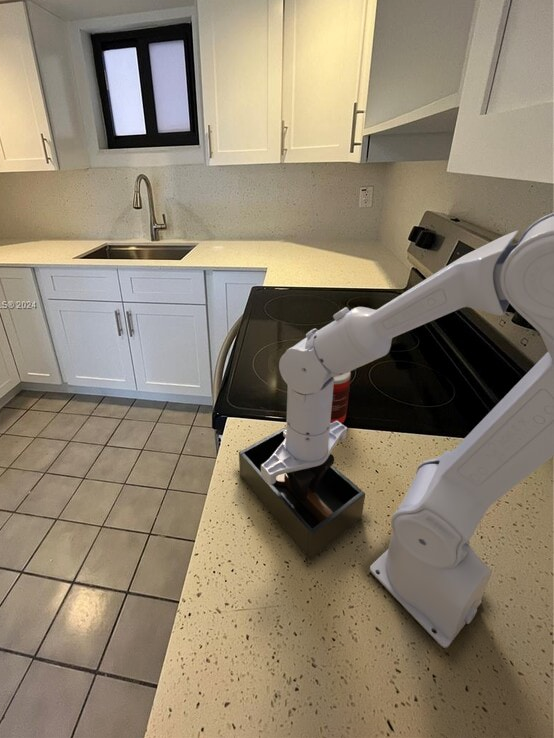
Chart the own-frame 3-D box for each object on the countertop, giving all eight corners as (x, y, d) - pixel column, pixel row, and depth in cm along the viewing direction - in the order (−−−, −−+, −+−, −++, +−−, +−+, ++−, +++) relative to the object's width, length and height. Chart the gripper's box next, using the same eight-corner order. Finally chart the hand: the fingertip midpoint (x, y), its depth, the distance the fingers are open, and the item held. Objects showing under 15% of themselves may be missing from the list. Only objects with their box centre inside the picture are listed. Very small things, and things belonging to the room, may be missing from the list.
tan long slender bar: (340, 520, 50) (342, 509, 49) (320, 536, 48) (321, 525, 47) (282, 462, 59) (282, 452, 59) (263, 473, 58) (263, 463, 57)
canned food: (315, 398, 76) (318, 353, 71) (352, 413, 71) (357, 366, 66) (297, 417, 70) (300, 371, 66) (336, 435, 65) (341, 386, 61)
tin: (361, 518, 51) (365, 493, 49) (310, 560, 46) (312, 534, 44) (286, 447, 63) (287, 425, 61) (239, 474, 58) (238, 452, 56)
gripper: (324, 386, 54) (318, 453, 59) (246, 425, 47) (248, 497, 52) (362, 411, 48) (352, 482, 54) (281, 459, 41) (279, 536, 47)
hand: (303, 492), depth 52 cm, fingers closed on tan long slender bar, 1 cm apart
